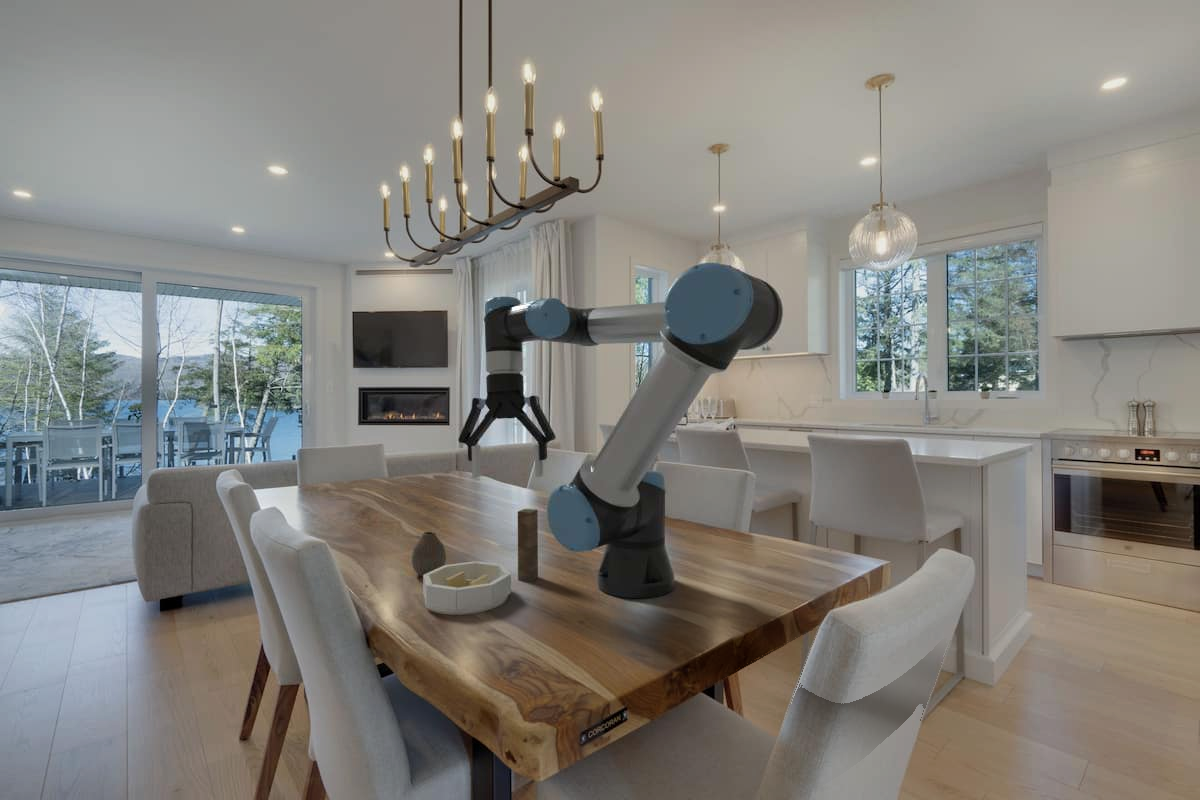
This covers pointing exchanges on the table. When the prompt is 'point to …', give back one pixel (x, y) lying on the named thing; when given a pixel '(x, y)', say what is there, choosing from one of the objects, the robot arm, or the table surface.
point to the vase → (428, 554)
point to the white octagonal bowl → (466, 588)
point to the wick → (527, 544)
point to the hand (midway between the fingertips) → (507, 476)
